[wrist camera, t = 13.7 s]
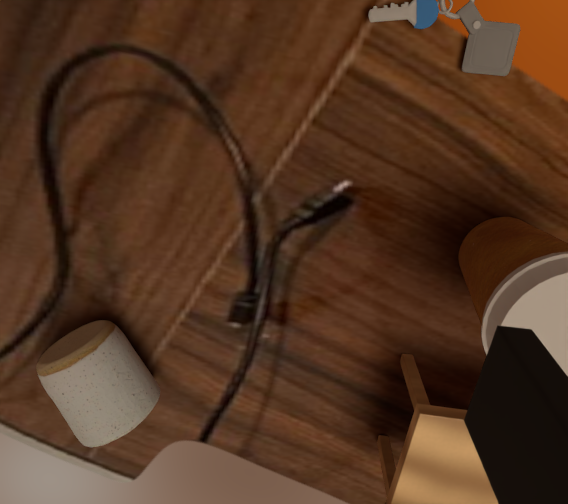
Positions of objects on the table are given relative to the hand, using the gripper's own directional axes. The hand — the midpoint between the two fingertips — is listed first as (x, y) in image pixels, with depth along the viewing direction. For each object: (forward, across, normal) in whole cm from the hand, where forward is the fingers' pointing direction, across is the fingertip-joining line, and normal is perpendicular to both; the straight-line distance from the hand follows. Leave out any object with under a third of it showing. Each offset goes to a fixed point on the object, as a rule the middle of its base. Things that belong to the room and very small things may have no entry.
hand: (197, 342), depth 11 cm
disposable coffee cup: (+27, +20, -8) cm, 35 cm away
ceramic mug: (+28, -13, -23) cm, 38 cm away
